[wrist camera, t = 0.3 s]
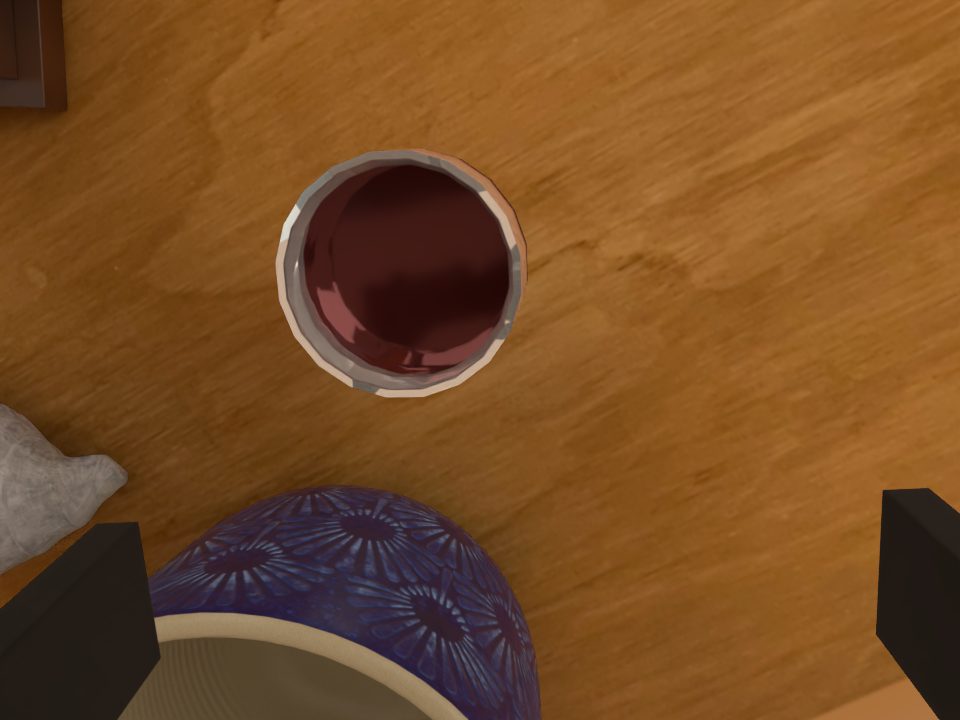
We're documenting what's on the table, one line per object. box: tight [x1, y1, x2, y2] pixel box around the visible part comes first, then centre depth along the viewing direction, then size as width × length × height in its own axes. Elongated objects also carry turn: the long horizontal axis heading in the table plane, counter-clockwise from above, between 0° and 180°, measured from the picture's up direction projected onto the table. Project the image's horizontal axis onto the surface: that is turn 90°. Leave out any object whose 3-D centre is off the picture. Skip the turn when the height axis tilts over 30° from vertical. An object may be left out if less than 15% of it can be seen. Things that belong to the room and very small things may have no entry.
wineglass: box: [275, 148, 528, 397], centre depth 29 cm, size 7×7×12 cm
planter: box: [118, 485, 542, 720], centre depth 31 cm, size 17×17×15 cm
